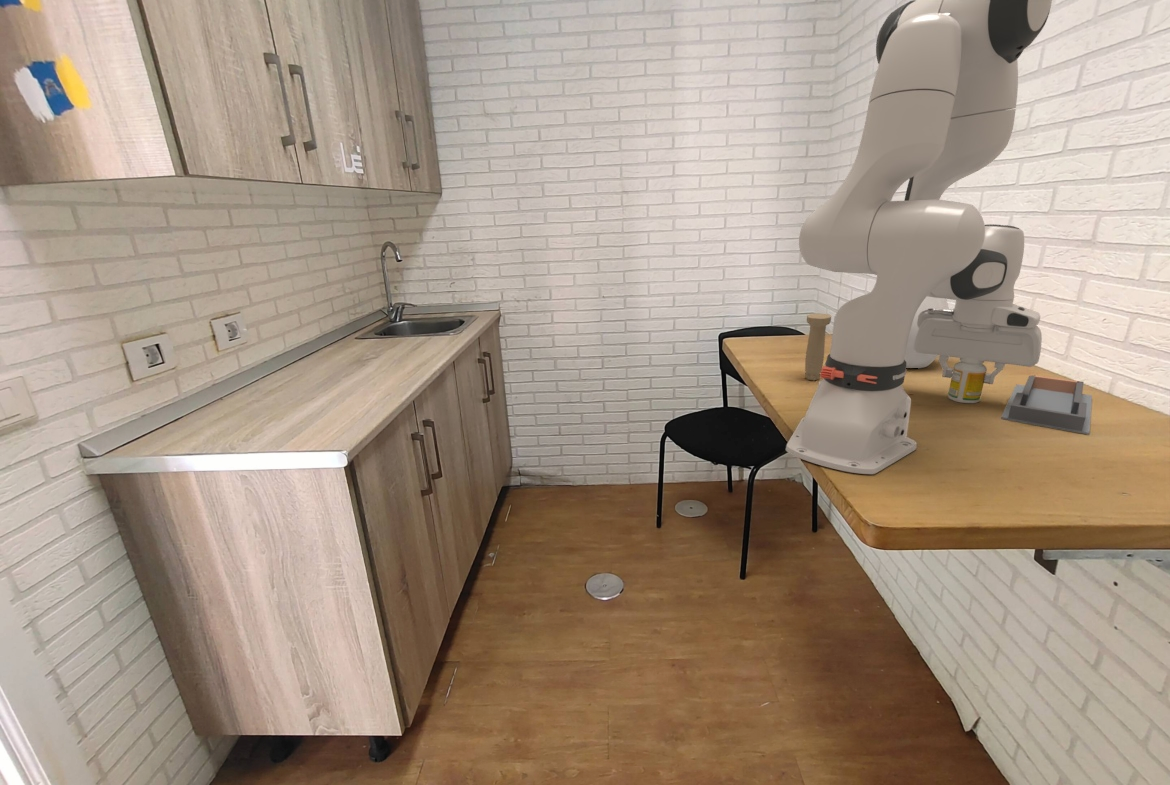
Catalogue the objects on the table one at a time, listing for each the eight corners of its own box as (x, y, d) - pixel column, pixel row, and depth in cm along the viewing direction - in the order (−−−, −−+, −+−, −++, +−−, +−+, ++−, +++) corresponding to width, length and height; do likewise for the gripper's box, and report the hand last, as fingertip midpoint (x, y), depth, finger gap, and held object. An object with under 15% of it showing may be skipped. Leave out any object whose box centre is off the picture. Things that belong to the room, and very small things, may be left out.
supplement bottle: (943, 399, 107) (952, 354, 104) (952, 393, 110) (961, 349, 107) (974, 406, 103) (984, 359, 100) (983, 399, 106) (993, 354, 103)
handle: (825, 376, 124) (833, 314, 119) (820, 384, 119) (827, 319, 114) (804, 374, 127) (810, 312, 122) (798, 381, 122) (804, 317, 117)
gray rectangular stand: (1089, 434, 89) (1093, 419, 88) (1000, 418, 97) (1004, 404, 96) (1091, 397, 105) (1095, 383, 104) (1016, 386, 113) (1019, 373, 112)
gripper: (916, 309, 105) (904, 374, 110) (1048, 320, 92) (1029, 393, 97) (923, 305, 110) (912, 367, 114) (1050, 314, 96) (1032, 385, 101)
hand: (967, 380), depth 105 cm, fingers open, 5 cm apart
